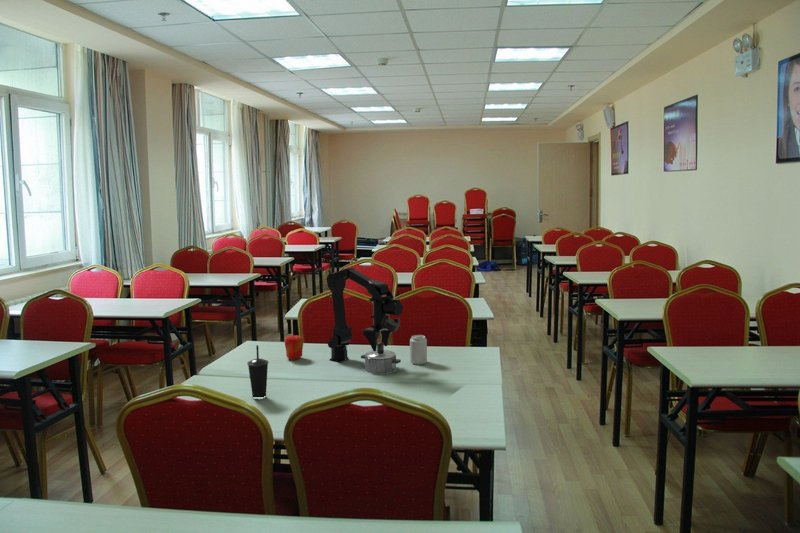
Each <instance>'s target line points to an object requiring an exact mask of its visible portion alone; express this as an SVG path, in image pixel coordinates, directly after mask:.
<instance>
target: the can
mask: <svg viewBox="0 0 800 533" xmlns="http://www.w3.org/2000/svg"><path fill="white" fill-rule="evenodd" d="M427 346H428V339H427V338H426V336H425V335H423V334H416V335H412V336H411V338H410V339H409V362H410V363H411V364H413V365H419V366H420V365H425V364H426V362H428V347H427Z"/></svg>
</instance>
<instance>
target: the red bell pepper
mask: <svg viewBox="0 0 800 533" xmlns="http://www.w3.org/2000/svg"><path fill="white" fill-rule="evenodd" d="M284 347H285V354H286V358H287V359H288V360H290V359H292V360H291V361H294V359H296V360H299V359H301V357H303V348H304V339H303V336H300V335H299V334H298V335H297V334H296V335H295V334H294V333H292V335H288V336H286V337H285V338H284Z"/></svg>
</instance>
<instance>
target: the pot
mask: <svg viewBox="0 0 800 533" xmlns="http://www.w3.org/2000/svg"><path fill="white" fill-rule="evenodd" d="M360 359H362V360H364V370H365V372H367V373H369V374H374V375H375V374H376V375H385V374H390V373H394V372H396V371H397V364H400V363H401V362H402V360H401V359H397V354H396V353H395V357H393V358H390V359H384V360H376V359H370V358H367V357H366V353H365V354H362V355H360Z"/></svg>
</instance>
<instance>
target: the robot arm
mask: <svg viewBox="0 0 800 533" xmlns="http://www.w3.org/2000/svg"><path fill="white" fill-rule="evenodd" d="M347 280H351V281H353V282H354V283H356V284H357V285H359V286H361V287H363V288H364V289H365V290H366V291H367V293H368V294H369V295H370V296H371V298H369V299H368V302H371V303H372V312H373V313H372V315H370V316H371V317H370V318H371V319H372V320H373V321H372V322H373V324H371V327H367V328H365V329H363V330H362V336H364V338H366V340H367V342H368V343H369V345H370V347H371V349H372V351H376V350H377V343H378V339H379V338H380V337H381V340H382V343H384V347H388V344H389V340H390V337H391V335H392V333H395V332H398V330H399V327H401V319H400V318H397V317H396V318H394V319H393V318H392V319H391V318H390V315H391V316H400V315H402V313H403V309H404V306H403V303H402V302H401V301H400V300H401V299H400V298H395V297H394V295H393V293H392V291H391V290H390V288H389V285H388V283H386V282H384V281H380V280H376V279H373V278H370V277H369V276H367V275H365V274H363V273H361V272H360V271H358V270H356V269H355V268H354V267H352V266H351V267H344V268H343V269H341V270H339V271H336V272H331V273H330V272H329V274H327V276H326V284H327V288H328V289H329V291H330V292H331V296H332V305H333V306H332V307H333V317H334V325H333V329H332V331H331V332H332V335H331V336H332V337H331V338H330V339H329V341H328V342H327V346H328V348H329V349H330V350H331V353H330V354H331V355H330V356H331V358H329V361H333V362H339V363H342V362H344V361H347V360H348V359H349V357H348V348H347V346H350V341H351V340H352V337H353V334H352V329H353V328H352V327H351V326H349V325H348V324H347V319H346V308H345V300H344V299H345V298H344V290H345V288H346V285H347V284H346V283H347ZM380 334H381V336H380Z"/></svg>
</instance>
